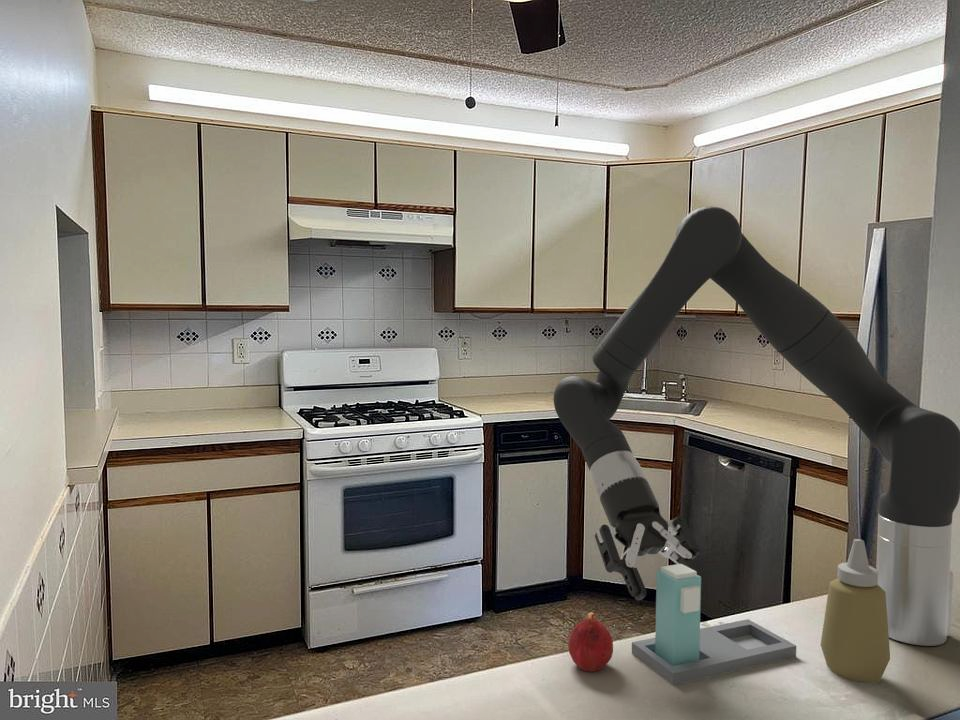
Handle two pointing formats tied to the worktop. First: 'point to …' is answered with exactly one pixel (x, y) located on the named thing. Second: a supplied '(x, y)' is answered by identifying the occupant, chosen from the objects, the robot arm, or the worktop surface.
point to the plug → (678, 614)
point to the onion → (590, 644)
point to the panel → (720, 652)
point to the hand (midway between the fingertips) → (669, 593)
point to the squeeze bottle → (856, 621)
